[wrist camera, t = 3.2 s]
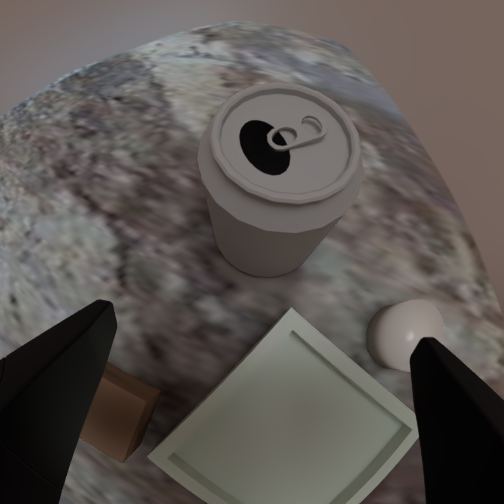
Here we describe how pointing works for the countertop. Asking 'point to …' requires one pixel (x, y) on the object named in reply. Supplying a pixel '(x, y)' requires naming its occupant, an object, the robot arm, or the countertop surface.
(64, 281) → the countertop surface
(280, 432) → the tray
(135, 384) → the walnut block
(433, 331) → the off-white egg
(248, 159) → the can
